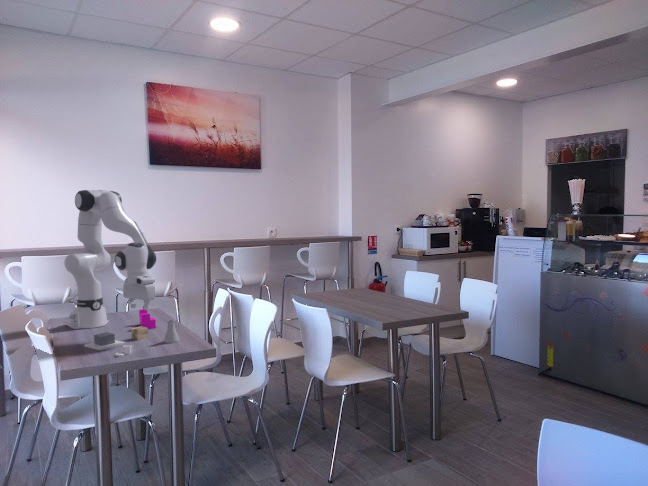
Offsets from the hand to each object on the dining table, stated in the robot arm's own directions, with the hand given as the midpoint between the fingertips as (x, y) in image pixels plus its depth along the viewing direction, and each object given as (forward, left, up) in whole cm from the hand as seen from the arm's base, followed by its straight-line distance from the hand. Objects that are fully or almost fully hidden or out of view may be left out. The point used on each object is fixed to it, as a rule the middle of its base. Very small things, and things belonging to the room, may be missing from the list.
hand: (139, 308), depth 236 cm
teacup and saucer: (+16, -20, -14) cm, 30 cm away
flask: (+18, +4, -14) cm, 23 cm away
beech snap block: (0, 0, -14) cm, 14 cm away
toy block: (-21, +17, -14) cm, 31 cm away
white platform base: (-2, -16, -14) cm, 21 cm away
